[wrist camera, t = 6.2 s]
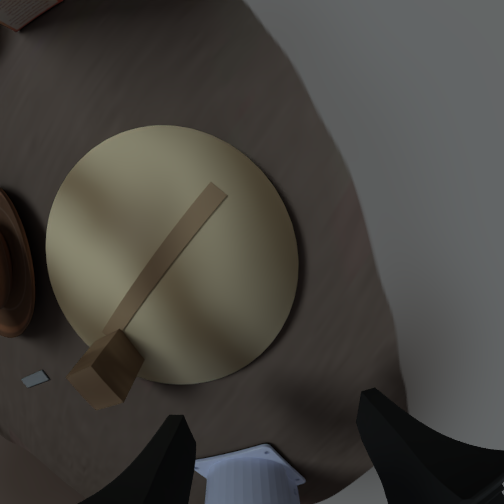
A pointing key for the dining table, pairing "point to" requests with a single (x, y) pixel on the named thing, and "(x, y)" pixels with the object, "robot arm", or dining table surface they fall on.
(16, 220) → the cup and saucer
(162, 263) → the cream disc with block
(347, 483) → the dining table surface
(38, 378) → the tape mark
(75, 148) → the dining table surface
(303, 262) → the dining table surface
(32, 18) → the cracker box
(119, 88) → the dining table surface
